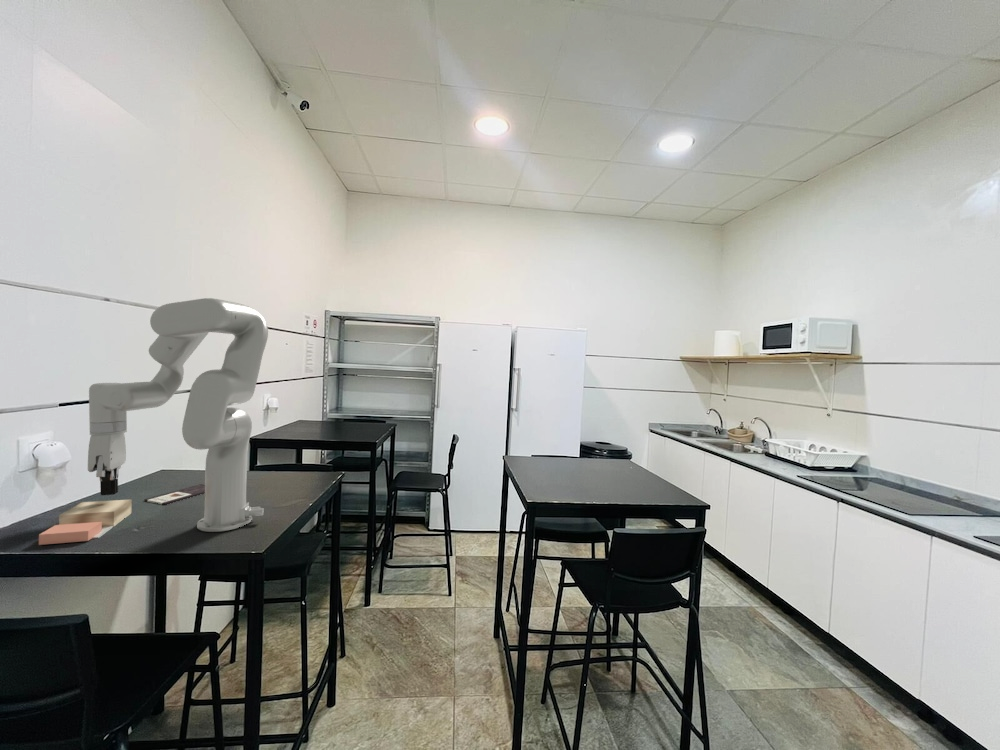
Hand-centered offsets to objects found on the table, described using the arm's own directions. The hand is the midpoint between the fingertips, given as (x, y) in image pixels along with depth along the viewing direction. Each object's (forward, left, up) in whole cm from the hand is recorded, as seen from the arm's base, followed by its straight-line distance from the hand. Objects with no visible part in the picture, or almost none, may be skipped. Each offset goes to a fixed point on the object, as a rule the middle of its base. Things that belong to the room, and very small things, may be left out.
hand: (109, 493), depth 117 cm
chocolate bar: (-13, -17, -7) cm, 22 cm away
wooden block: (+1, +3, -6) cm, 7 cm away
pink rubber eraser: (+1, +15, -4) cm, 16 cm away
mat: (+1, +12, -6) cm, 14 cm away
